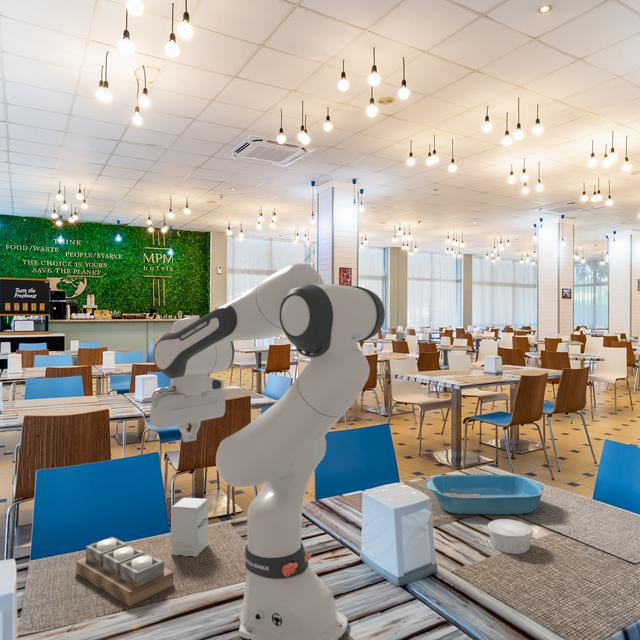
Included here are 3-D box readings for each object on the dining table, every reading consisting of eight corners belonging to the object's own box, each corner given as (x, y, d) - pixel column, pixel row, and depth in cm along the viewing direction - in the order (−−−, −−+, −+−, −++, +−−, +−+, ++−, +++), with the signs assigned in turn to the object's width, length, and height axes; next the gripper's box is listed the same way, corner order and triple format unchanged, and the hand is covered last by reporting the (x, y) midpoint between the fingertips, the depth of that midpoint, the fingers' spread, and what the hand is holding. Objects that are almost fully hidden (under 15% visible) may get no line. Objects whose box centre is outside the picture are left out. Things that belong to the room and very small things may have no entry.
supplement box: (197, 557, 130) (196, 508, 130) (170, 555, 132) (169, 506, 132) (209, 545, 137) (208, 498, 137) (183, 543, 139) (183, 496, 139)
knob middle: (137, 564, 120) (137, 550, 120) (120, 571, 117) (120, 557, 117) (127, 558, 123) (127, 545, 123) (109, 565, 119) (109, 552, 119)
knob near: (156, 573, 115) (156, 559, 115) (138, 581, 112) (138, 567, 112) (145, 568, 118) (144, 554, 118) (127, 575, 115) (127, 561, 115)
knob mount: (173, 585, 117) (173, 558, 117) (129, 606, 108) (129, 578, 108) (118, 556, 131) (118, 533, 131) (76, 573, 122) (76, 548, 122)
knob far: (120, 555, 125) (119, 542, 125) (102, 562, 121) (102, 548, 121) (110, 550, 127) (110, 537, 127) (93, 556, 124) (93, 543, 124)
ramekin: (488, 553, 132) (488, 533, 132) (487, 535, 143) (487, 516, 143) (535, 559, 129) (534, 538, 129) (530, 540, 139) (530, 521, 139)
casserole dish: (434, 519, 155) (433, 495, 155) (421, 493, 177) (420, 473, 177) (556, 519, 154) (556, 495, 154) (528, 494, 176) (528, 473, 176)
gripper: (160, 390, 115) (160, 451, 115) (229, 381, 131) (229, 435, 131) (144, 387, 119) (144, 447, 119) (213, 379, 135) (213, 431, 135)
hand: (189, 440), depth 125 cm, fingers closed
